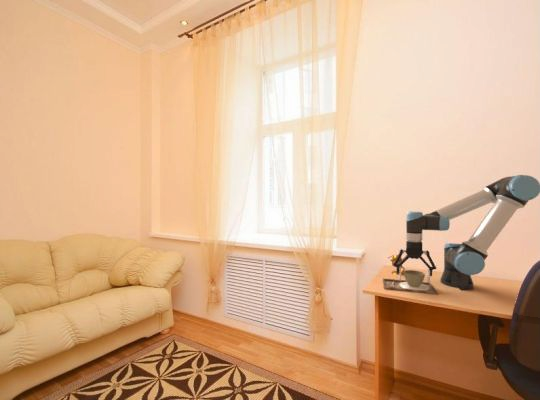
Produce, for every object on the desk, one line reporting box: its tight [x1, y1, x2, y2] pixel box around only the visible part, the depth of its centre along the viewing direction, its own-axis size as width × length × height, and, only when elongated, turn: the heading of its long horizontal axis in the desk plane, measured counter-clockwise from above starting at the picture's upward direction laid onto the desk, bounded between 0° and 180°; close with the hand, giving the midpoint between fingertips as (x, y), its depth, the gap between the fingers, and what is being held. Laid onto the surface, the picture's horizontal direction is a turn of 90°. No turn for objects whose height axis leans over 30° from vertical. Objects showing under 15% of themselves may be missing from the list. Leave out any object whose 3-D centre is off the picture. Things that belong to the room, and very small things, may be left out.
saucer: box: [399, 282, 429, 291], centre depth 147 cm, size 14×14×1 cm
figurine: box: [387, 254, 406, 276], centre depth 175 cm, size 9×11×12 cm
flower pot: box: [403, 269, 426, 287], centre depth 147 cm, size 10×10×7 cm
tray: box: [382, 278, 438, 295], centre depth 148 cm, size 24×16×2 cm, turn 71°
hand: (414, 280), depth 147 cm, fingers open, 13 cm apart
